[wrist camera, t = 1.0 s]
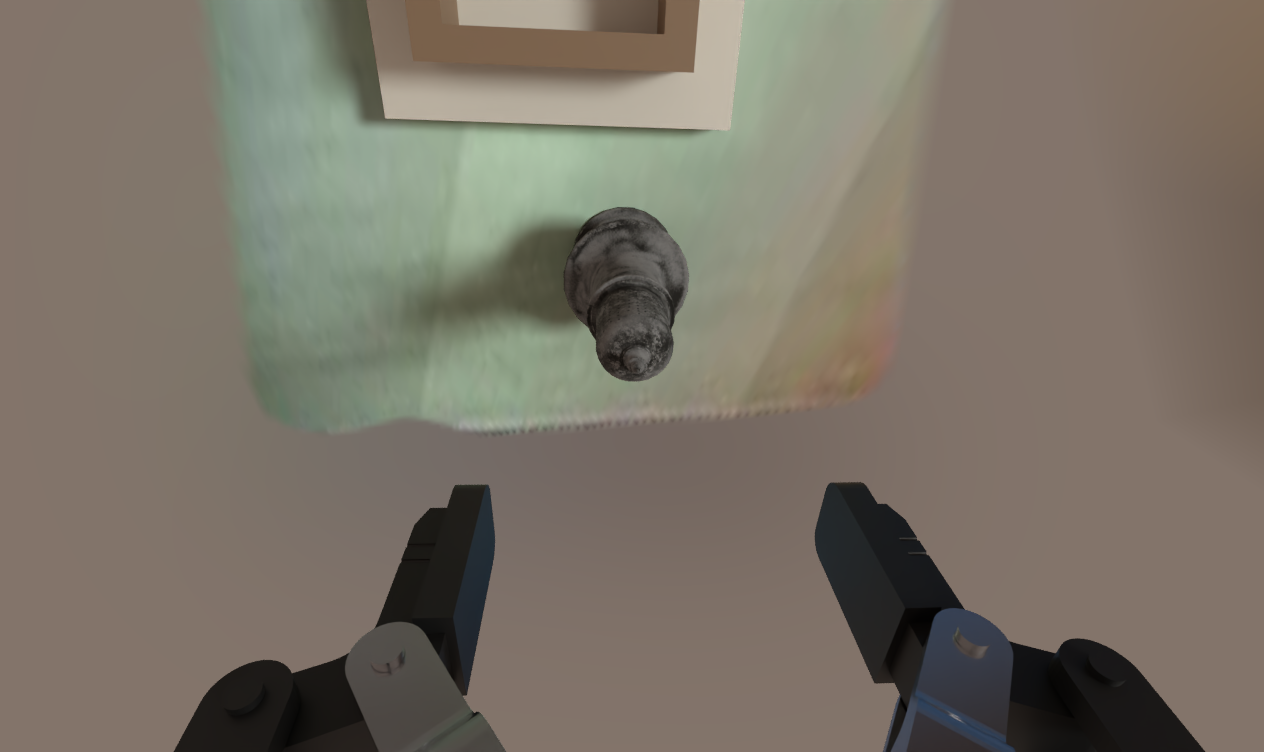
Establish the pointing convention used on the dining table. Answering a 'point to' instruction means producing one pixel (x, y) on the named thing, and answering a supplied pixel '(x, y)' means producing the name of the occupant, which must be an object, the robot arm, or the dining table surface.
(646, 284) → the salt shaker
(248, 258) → the dining table surface
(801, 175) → the dining table surface
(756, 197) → the dining table surface
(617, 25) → the shaker stand
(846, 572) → the robot arm
